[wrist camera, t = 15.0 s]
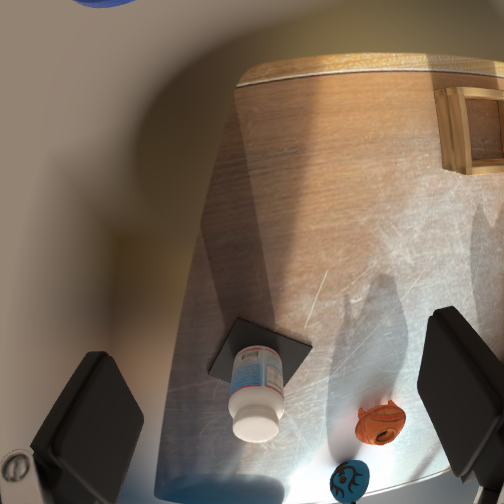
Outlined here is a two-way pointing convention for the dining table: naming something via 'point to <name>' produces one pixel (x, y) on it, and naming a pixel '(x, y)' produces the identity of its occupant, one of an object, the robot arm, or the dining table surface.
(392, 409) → the pot
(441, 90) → the crate
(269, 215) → the dining table surface
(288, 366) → the plate
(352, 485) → the ornament
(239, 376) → the pill bottle
